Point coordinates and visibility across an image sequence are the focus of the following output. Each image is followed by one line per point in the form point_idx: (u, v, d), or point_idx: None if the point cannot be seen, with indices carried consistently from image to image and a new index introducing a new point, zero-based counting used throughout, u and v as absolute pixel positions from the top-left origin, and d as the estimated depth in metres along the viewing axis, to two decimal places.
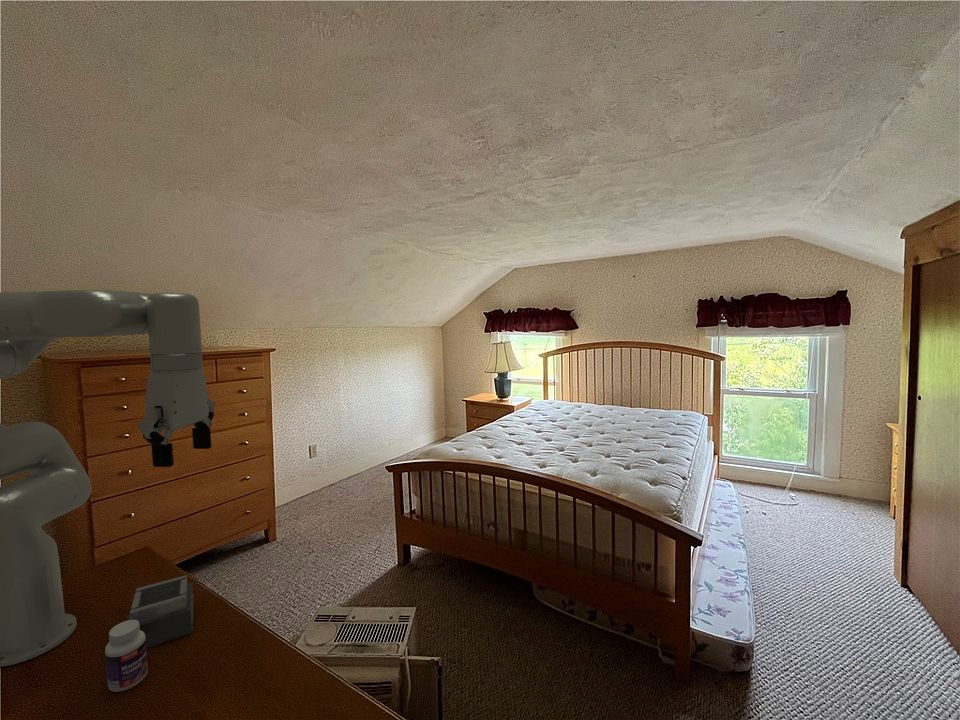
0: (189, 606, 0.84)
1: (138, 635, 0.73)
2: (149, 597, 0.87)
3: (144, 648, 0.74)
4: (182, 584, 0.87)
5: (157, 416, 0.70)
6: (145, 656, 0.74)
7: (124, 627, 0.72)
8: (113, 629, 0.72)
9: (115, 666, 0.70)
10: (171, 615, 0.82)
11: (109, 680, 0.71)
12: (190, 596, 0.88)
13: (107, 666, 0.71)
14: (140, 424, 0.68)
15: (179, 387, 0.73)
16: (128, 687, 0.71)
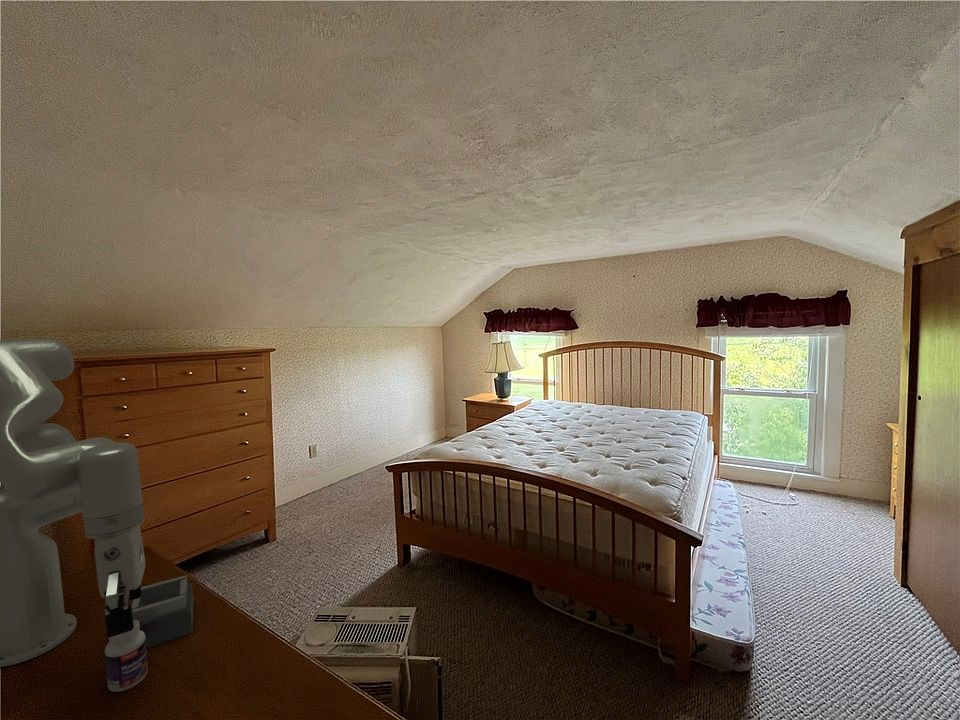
0: (189, 606, 0.84)
1: (138, 635, 0.73)
2: (149, 597, 0.87)
3: (144, 648, 0.74)
4: (182, 584, 0.87)
5: None
6: (145, 656, 0.74)
7: None
8: None
9: (115, 666, 0.70)
10: (171, 615, 0.82)
11: (109, 680, 0.71)
12: (190, 596, 0.88)
13: (107, 666, 0.71)
14: None
15: None
16: (128, 687, 0.71)
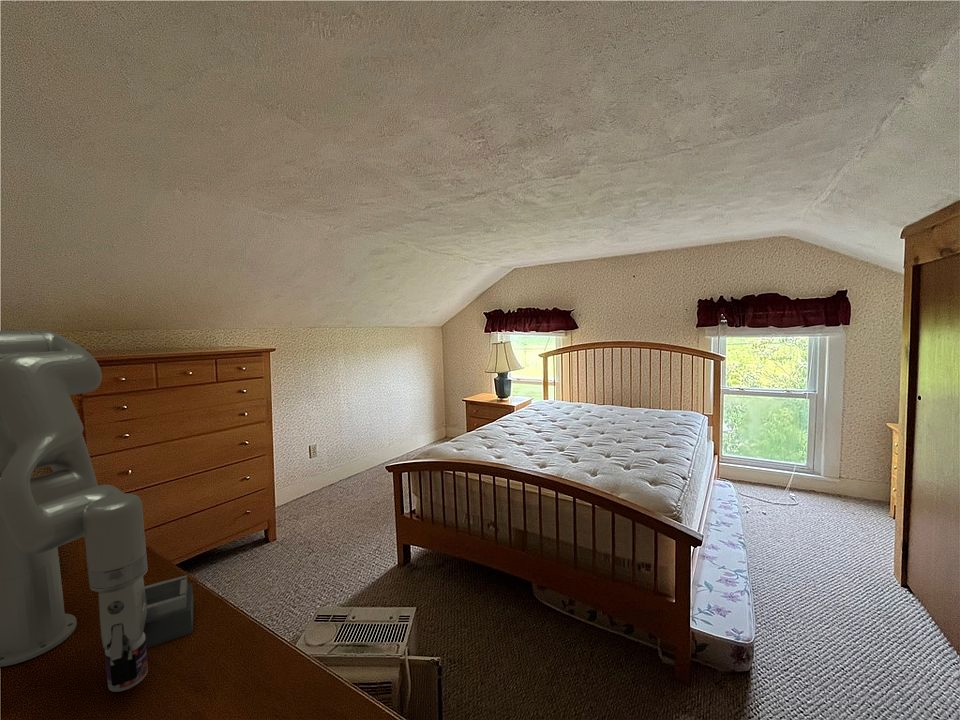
0: (189, 606, 0.84)
1: None
2: (149, 597, 0.87)
3: (144, 648, 0.74)
4: (182, 584, 0.87)
5: None
6: (145, 656, 0.74)
7: None
8: None
9: None
10: (171, 615, 0.82)
11: (109, 680, 0.71)
12: (190, 596, 0.88)
13: (107, 666, 0.71)
14: None
15: None
16: (128, 687, 0.71)
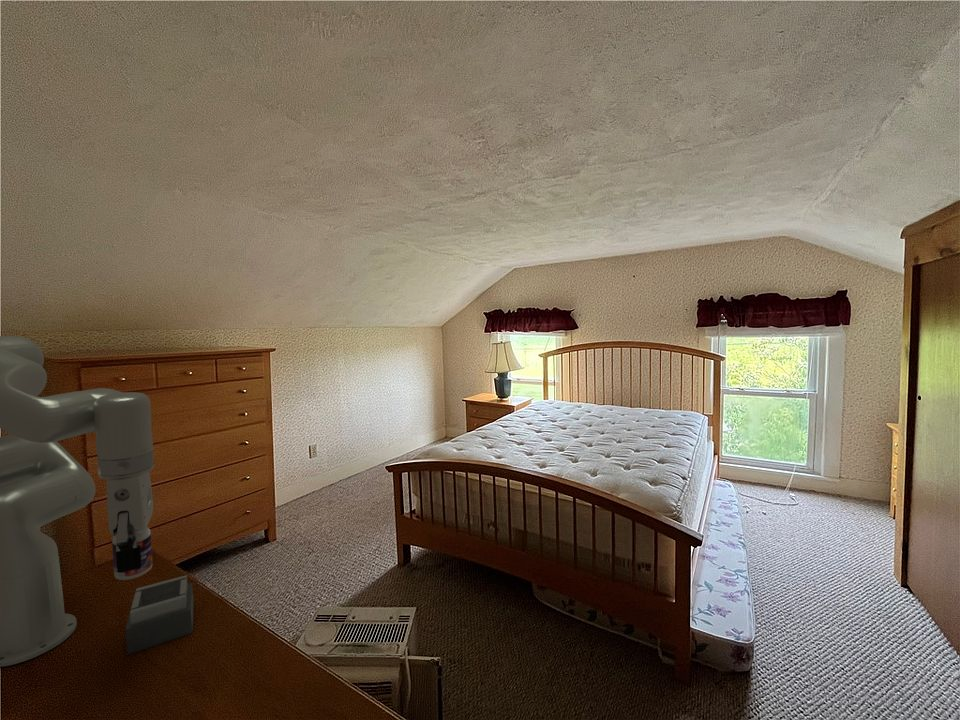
0: (189, 606, 0.84)
1: (144, 529, 0.76)
2: (149, 597, 0.87)
3: (149, 542, 0.77)
4: (182, 584, 0.87)
5: None
6: (150, 550, 0.77)
7: None
8: None
9: None
10: (171, 615, 0.82)
11: (115, 568, 0.74)
12: (190, 596, 0.88)
13: (114, 554, 0.74)
14: None
15: None
16: (133, 576, 0.74)
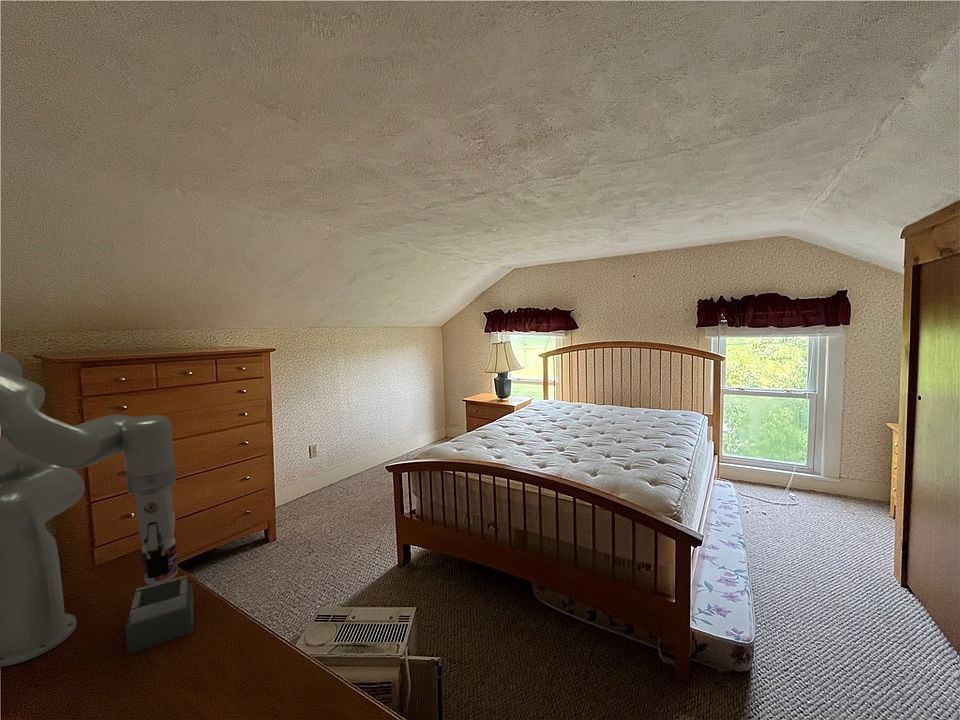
0: (189, 606, 0.84)
1: None
2: (149, 597, 0.87)
3: (174, 550, 0.85)
4: (182, 584, 0.87)
5: None
6: (175, 557, 0.85)
7: None
8: None
9: None
10: (171, 615, 0.82)
11: (146, 574, 0.82)
12: (190, 596, 0.88)
13: (144, 562, 0.82)
14: None
15: None
16: (162, 581, 0.82)
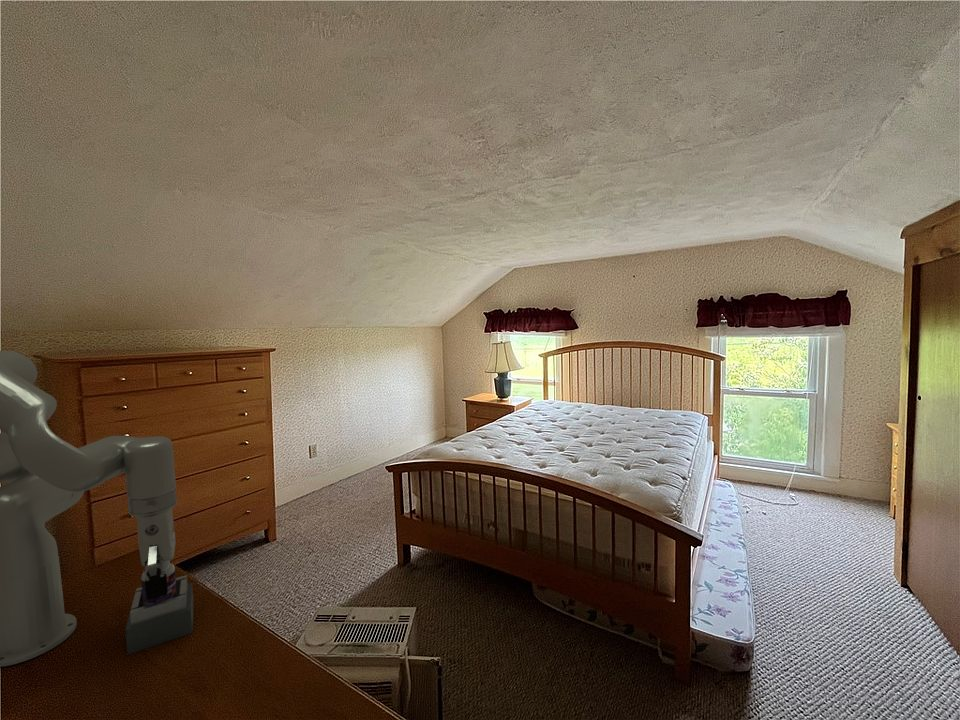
0: (189, 606, 0.84)
1: (169, 566, 0.85)
2: None
3: (174, 577, 0.85)
4: (182, 584, 0.87)
5: None
6: (175, 584, 0.86)
7: (157, 558, 0.84)
8: None
9: None
10: (171, 615, 0.82)
11: (145, 602, 0.82)
12: (190, 596, 0.88)
13: (143, 590, 0.82)
14: None
15: None
16: None
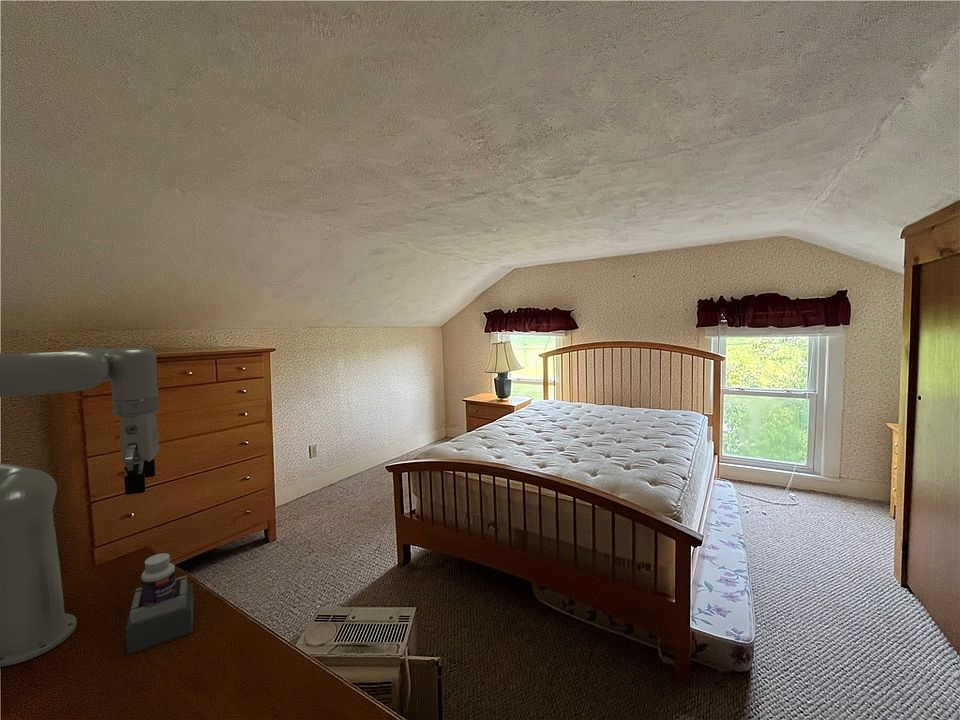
0: (189, 606, 0.84)
1: (169, 566, 0.85)
2: None
3: (174, 577, 0.85)
4: (182, 584, 0.87)
5: None
6: (175, 584, 0.86)
7: (157, 558, 0.84)
8: (148, 559, 0.84)
9: (150, 590, 0.82)
10: (171, 615, 0.82)
11: (145, 602, 0.82)
12: (190, 596, 0.88)
13: (143, 590, 0.82)
14: None
15: None
16: None
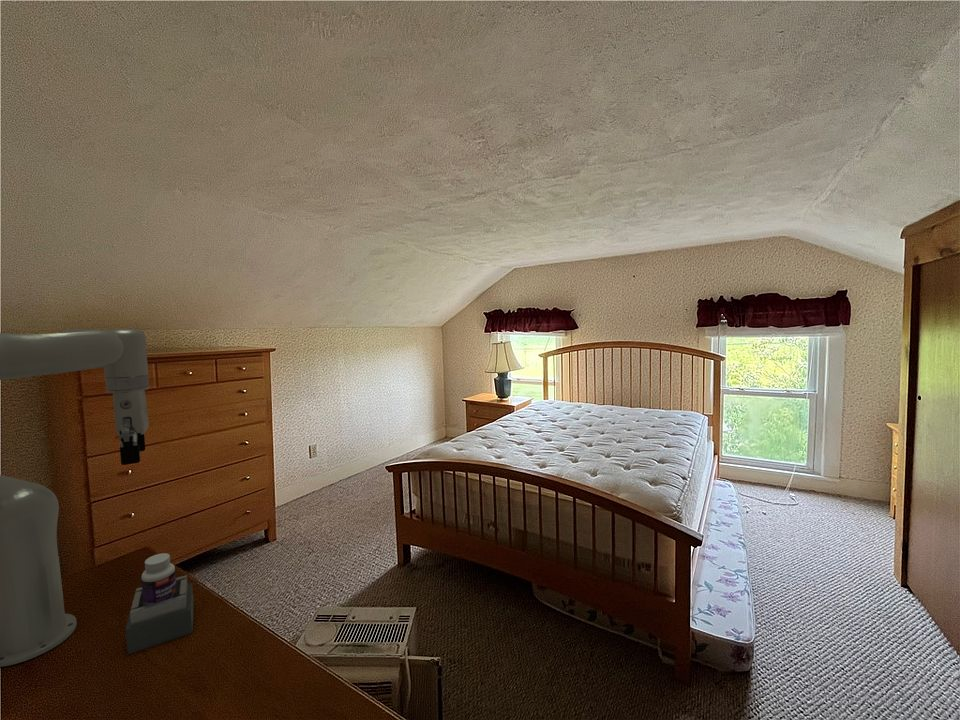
0: (189, 606, 0.84)
1: (169, 566, 0.85)
2: None
3: (174, 577, 0.85)
4: (182, 584, 0.87)
5: None
6: (175, 584, 0.86)
7: (157, 558, 0.84)
8: (148, 559, 0.84)
9: (150, 590, 0.82)
10: (171, 615, 0.82)
11: (145, 602, 0.82)
12: (190, 596, 0.88)
13: (143, 590, 0.82)
14: None
15: None
16: None
